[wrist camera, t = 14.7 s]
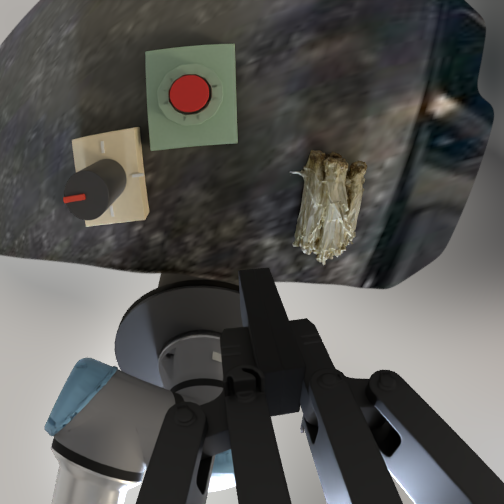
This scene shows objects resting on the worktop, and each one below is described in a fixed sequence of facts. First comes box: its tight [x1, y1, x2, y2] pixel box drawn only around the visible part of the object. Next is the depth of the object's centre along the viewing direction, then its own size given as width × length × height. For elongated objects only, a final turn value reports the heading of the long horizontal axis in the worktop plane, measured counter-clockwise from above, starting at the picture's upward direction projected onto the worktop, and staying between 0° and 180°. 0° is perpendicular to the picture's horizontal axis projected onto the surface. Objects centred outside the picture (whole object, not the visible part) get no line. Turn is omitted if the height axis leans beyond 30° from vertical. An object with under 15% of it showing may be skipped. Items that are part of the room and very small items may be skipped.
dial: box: [63, 159, 127, 220], centre depth 28 cm, size 5×5×7 cm
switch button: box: [170, 75, 209, 112], centre depth 28 cm, size 4×4×2 cm
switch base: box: [145, 44, 238, 151], centre depth 30 cm, size 12×10×4 cm
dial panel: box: [72, 127, 149, 227], centre depth 33 cm, size 11×9×3 cm
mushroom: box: [289, 150, 367, 265], centre depth 38 cm, size 14×10×5 cm, turn 175°
